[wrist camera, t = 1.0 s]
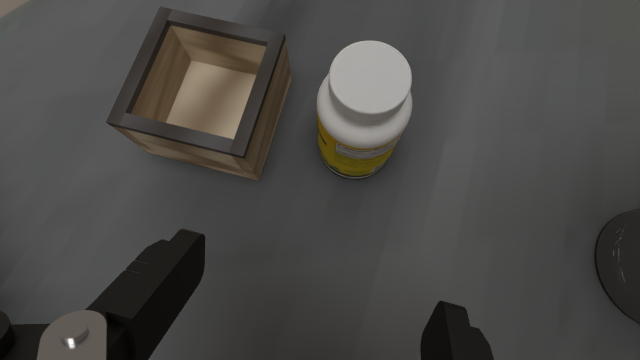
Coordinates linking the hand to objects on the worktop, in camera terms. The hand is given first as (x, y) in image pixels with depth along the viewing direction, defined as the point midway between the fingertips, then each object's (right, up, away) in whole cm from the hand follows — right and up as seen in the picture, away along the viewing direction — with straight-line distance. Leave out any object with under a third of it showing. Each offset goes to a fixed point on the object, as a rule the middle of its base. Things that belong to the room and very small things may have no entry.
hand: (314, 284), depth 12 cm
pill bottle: (+3, +6, +19) cm, 20 cm away
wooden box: (-9, +9, +19) cm, 23 cm away
